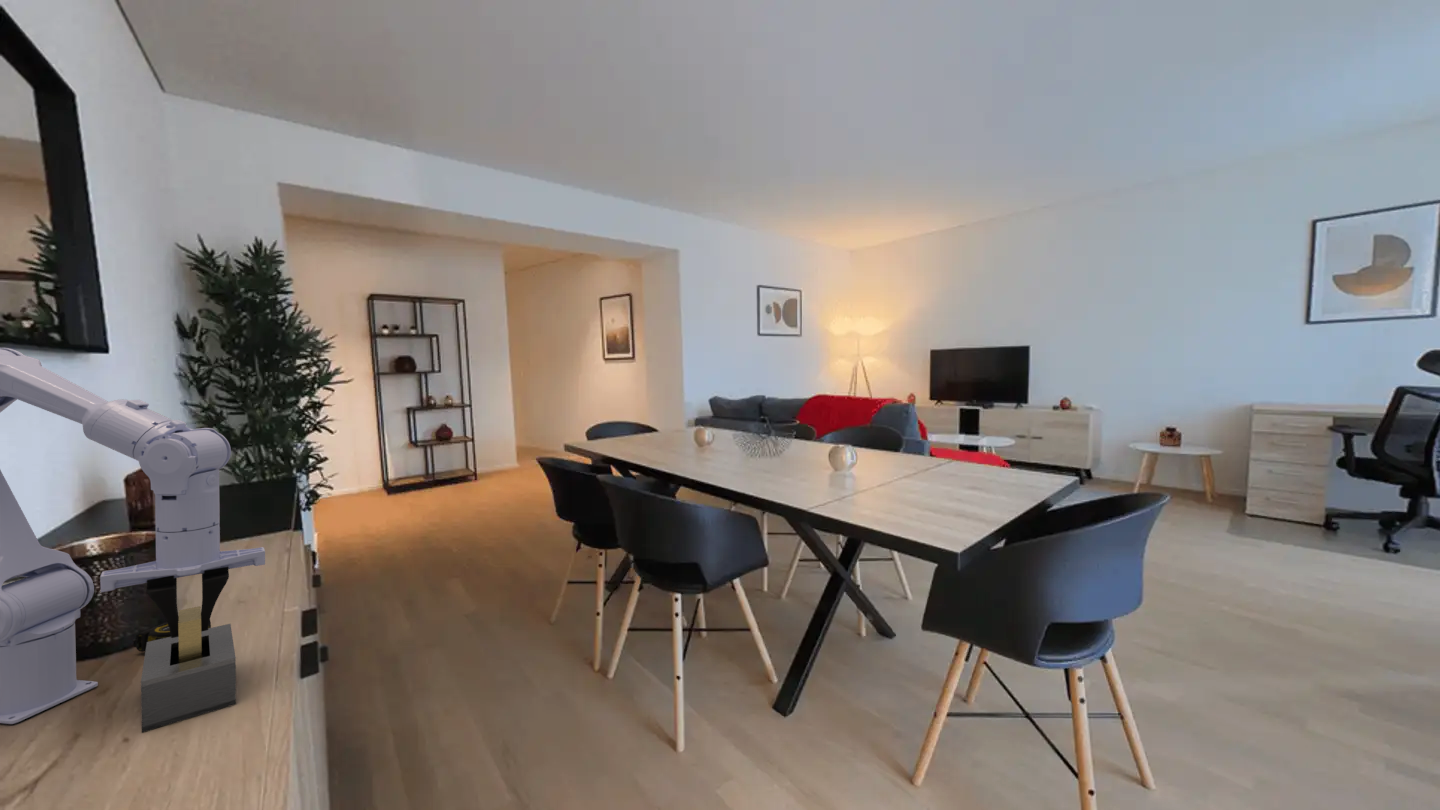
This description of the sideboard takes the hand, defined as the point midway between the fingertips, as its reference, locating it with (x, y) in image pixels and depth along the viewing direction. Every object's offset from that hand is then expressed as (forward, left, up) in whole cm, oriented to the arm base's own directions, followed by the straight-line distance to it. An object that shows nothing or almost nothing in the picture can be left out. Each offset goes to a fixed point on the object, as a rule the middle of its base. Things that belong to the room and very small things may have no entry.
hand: (190, 631), depth 68 cm
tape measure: (-15, +10, -9) cm, 20 cm away
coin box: (0, 0, -8) cm, 8 cm away
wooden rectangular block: (0, 0, -3) cm, 3 cm away
